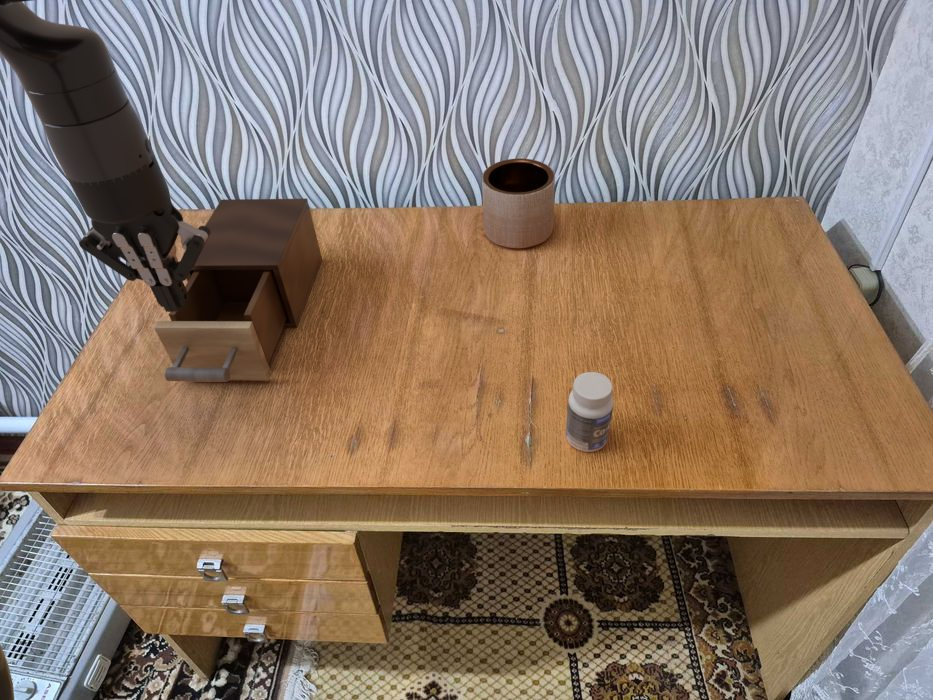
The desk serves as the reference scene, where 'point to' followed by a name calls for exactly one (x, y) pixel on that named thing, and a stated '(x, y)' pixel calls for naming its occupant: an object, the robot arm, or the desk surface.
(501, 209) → the planter
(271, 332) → the drawer
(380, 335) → the desk surface
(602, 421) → the pill bottle
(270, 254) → the cabinet
